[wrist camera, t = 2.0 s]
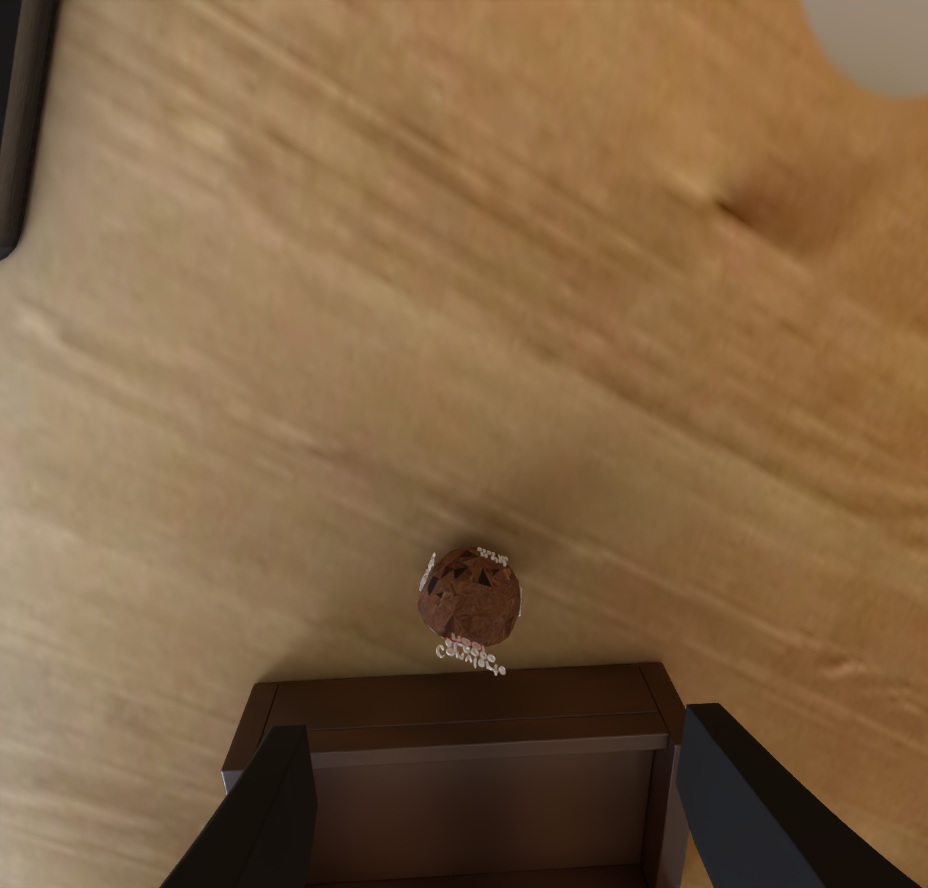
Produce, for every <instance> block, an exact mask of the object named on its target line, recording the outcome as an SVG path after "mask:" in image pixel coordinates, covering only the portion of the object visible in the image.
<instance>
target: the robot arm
mask: <svg viewBox="0 0 928 888" xmlns="http://www.w3.org/2000/svg"><path fill="white" fill-rule="evenodd" d="M676 787H677V790H678V793H679V796H680V799H681V803H682V806H683V809H684V812H685V816H686V819H687V822H688V825H689V828H690V831H691V834H692V837H693V840H694V843H695V845H696V847H697V850H698V852H699V855H700V857H701V859H702V861H703V864H704V866H705V868H706V871H707V873H708V875H709V878H710V880H711V882H712V884H713V887H714V888H922V887H920V886H919V885H918V884H916V883H915V882H914V881H913V880H911V879H910V878H909V877H907V876H906V875H905V874H904V873H903V872H901V871H900V870H899V869H898V868H896V867H895V866H894V865H893V864H891V863H890V862H889V861H888V860H887V859H885V858H884V857H883V856H882V855H881V854H879V853H878V852H877V851H876V850H875V849H874V848H872V847H871V846H870V845H869V844H868V843H867V842H865V841H864V840H863V839H862V838H861V837H860V836H858V835H857V834H856V833H855V832H854V831H853V830H851V829H850V828H849V827H848V826H847V825H846V824H845V823H844V822H842V821H841V820H840V819H839V818H838V817H837V816H836V815H835V814H834V813H832V812H831V811H830V810H829V809H828V808H827V807H826V806H825V805H824V804H823V803H822V802H820V801H819V800H818V799H817V798H816V797H815V796H814V795H813V794H812V793H811V792H810V791H809V790H808V789H807V788H805V787H804V786H803V785H802V784H801V783H800V782H799V781H798V780H797V779H796V778H795V777H794V776H793V775H792V774H791V773H790V772H789V771H787V770H786V769H785V768H784V767H783V766H782V765H781V764H780V763H779V762H778V761H777V760H776V759H775V758H774V757H773V756H772V755H771V754H770V753H769V752H768V751H767V750H766V749H765V748H764V747H763V746H762V745H761V744H760V743H759V742H758V741H757V740H756V739H755V738H754V737H753V736H752V735H751V734H750V733H749V732H748V731H747V730H746V729H745V728H744V727H743V726H742V725H741V724H740V723H739V722H738V721H737V720H736V719H735V718H734V717H733V716H731V715H730V714H729V713H728V712H727V711H726V710H725V709H724V708H723V707H722V706H721V705H720V704H719V703H706V704H687V707H686V714H685V721H684V728H683V735H682V742H681V749H680V756H679V762H678V769H677V776H676ZM317 806H318V801H317V795H316V788H315V782H314V775H313V768H312V762H311V755H310V749H309V742H308V736H307V729H306V725H287V726H273V727H272V728H271V729H270V730H268V732H267V733H266V735H265V736H264V738H263V740H262V741H261V743H260V745H259V746H258V748H257V749H256V751H255V753H254V754H253V756H252V757H251V759H250V761H249V762H248V764H247V765H246V767H245V768H244V770H243V772H242V773H241V775H240V776H239V778H238V779H237V781H236V782H235V784H234V785H233V787H232V788H231V790H230V791H229V793H228V794H227V796H226V797H225V799H224V800H223V802H222V803H221V804H220V806H219V807H218V809H217V810H216V812H215V813H214V814H213V816H212V817H211V819H210V820H209V822H208V823H207V824H206V826H205V827H204V829H203V830H202V831H201V833H200V834H199V836H198V837H197V839H196V840H195V841H194V843H193V844H192V845H191V847H190V848H189V849H188V851H187V852H186V853H185V855H184V856H183V857H182V859H181V860H180V861H179V862H178V864H177V865H176V866H175V868H174V869H173V870H172V872H171V873H170V874H169V876H168V877H167V878H166V879H165V881H164V882H163V883H162V885H161V886H160V887H159V888H304V887H305V883H306V879H307V874H308V870H309V865H310V858H311V851H312V844H313V837H314V830H315V822H316V814H317Z"/></svg>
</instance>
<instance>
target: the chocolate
mask: <svg viewBox="0 0 928 888" xmlns="http://www.w3.org/2000/svg"><path fill="white" fill-rule="evenodd" d="M434 557H435V553H433V555H432V558H431V559H430V562H429V564H428V568H429V569H428V570H427V569H426V570H425V572H426V573H424V575H423V577H422V581H421V582H420V585H419V591H420V592H421V589H422V587H423V586H424V587H423V590H422V593H421V595H420V598H419V601H418V610H419V613H420V615H421V617H422V619H423V620H424V622H425V623H426V624H427V626H428V627H429V628H430V629H431V630H432V631H433V632H434V633H436V634H437V635H438V636H440V637H441V638H443V639H445V641H446V642H445V643H446V646H447V647H451V646H452V642H453V643H454V650H453V649H451V648H447V650H446V651H445V652H446V654H447V655H449V656H453V655H454V654H456V658H457V659H458V658H459V659H460V660H463V659H464V653H462V657H461V656H460V654H459V651H457V645H459V646H461V647H463V646H464V647H463V651H464V652H465V653H467V654H468V653H469V652H471V654H472V655H473V656H476V657H475V658H474V662H473V661H472V659H471V656H470V655H467V656H466V659H465V661H466V662H467V661H468V659H469V660H470V663H472V662H473V664H474V668H476V667H477V665H476V663H477V656H478V655H479V652H478V651H481V653H480V657H481V658H482V659H479V661H478V665H479V666H480V667H484V666H485V664H484V663H485V661H484V660H485V659H486V657H487V659H488V660H489V661H490V662H493V663H494V662H495V660H496V658H495V657H494V656H493V655H492V654H488V656H487V655H486V653H485V647H488V646H491V645H495V644H498V643H500V642H502V641H503V640H504V639H506V638H507V637H508V636H509V635H510V633H511V631H512V629H513V627H514V625H515V622H516V619H517V616H518V615H519V617H521V609H522V608H521V605H522V604H521V600H522V597H521V596H522V588H520V587H519V581H518V579H517V578H516V576H515V574H514V572H513V570H512V569H511V567H509V566H508V565H507V564H506V561H508V558H507V557H505V556H504V557H503V556H502V555H501V557H500V555H498V556H497V555H495V553H494V552H492V553H491V551H488V550H487V551H486V550H485V549H482V548H480V547H478V548H474V547H470V548H462V549H457V550H454V551H451V552H450V553H449V554H448V555H447V556H445V557H444V558H443V559H442V560H441V561H440V562H439V563H438V564H437V565H436V566H435V567H434V569H433V571H432V572H431V574H430V576H429V578H428V574H429V571H430V570H431V568H432V566H434V560H435V559H434ZM502 559H503V560H502ZM505 559H506V561H505ZM426 578H428V579H427V581H426ZM424 583H425V585H424ZM469 647H472V650H471V651H467V650H466V648H467V649H468V650H469V649H470V648H469ZM440 648H441V649H442V651H444V650H445V649H444V647H443V646H442V645H438V646H437V648H436V653H437V655H438V657H439V658H444V656H445V654H443V655H441V654H440ZM449 651H451V652H452V653H450V652H449ZM474 651H475V652H476V653H477V654H476V653H474ZM483 655H484V656H486V657H484V656H483ZM491 657H492V658H493V659H491ZM483 659H484V660H483ZM497 667H498V665H497V664H495V665H494V669H493V668H492V667H490V665H489V662H488V661H486V669H488V668H489V670H491V671H492V670H493V671H494V674H495V675H496V676H497V674H498V672H500V673H501V674H502V675H505V673H506V672H505V670H506V669H505V668H504V667H502V666H500V668H499V670H497Z"/></svg>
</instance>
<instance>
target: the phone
mask: <svg viewBox="0 0 928 888" xmlns="http://www.w3.org/2000/svg"><path fill="white" fill-rule="evenodd" d="M57 4H58V0H0V260H2V259H4V258H6V257H7V256H8V255H9V254H10V253H11V252H12V251H13V250H14V249H15V248H16V246H17V243H18V241H19V238H20V235H21V232H22V225H23V219H24V213H25V206H26V200H27V194H28V187H29V181H30V175H31V168H32V162H33V156H34V150H35V143H36V137H37V131H38V124H39V118H40V112H41V105H42V99H43V93H44V86H45V80H46V74H47V67H48V61H49V55H50V48H51V42H52V36H53V30H54V23H55V17H56V11H57Z"/></svg>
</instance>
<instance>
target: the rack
mask: <svg viewBox="0 0 928 888" xmlns="http://www.w3.org/2000/svg"><path fill="white" fill-rule="evenodd" d="M505 672H506V673H505V675H502V674H501V673H500V672H498V674H497V676H496V675H495V674H494V671H493V672H473V673H453V674H434V675H414V676H395V677H375V678H355V679H336V680H316V681H297V682H281V683H280V684H279V683H259V684H254V686H253V688H252V691H251V694H250V696H249V699H248V702H247V704H246V707H245V709H244V712H243V715H242V717H241V720H240V723H239V725H238V728H237V731H236V733H235V736H234V738H233V741H232V744H231V746H230V749H229V752H228V754H227V757H226V759H225V762H224V765H223V767H222V770H221V773H222V777H223V782H224V786H225V790H226V795H227V794H228V793H229V791H230V790H231V788H232V787H233V785H234V784H235V782H236V781H237V779H238V778H239V776H240V775H241V773H242V772H243V770H244V768H245V767H246V765H247V764H248V762H249V761H250V759H251V757H252V756H253V754H254V753H255V751H256V749H257V748H258V746H259V745H260V743H261V741H262V740H263V738H264V736H265V735H266V733H267V732H268V730H270V729H271V728H272V727H273V726H287V725H306V729H307V736H308V742H309V749H310V755H311V762H312V768H313V775H314V782H315V788H316V795H317V801H318V806H317V814H316V822H315V830H314V837H313V844H312V851H311V858H310V865H309V870H308V874H307V879H306V883H305V887H304V888H680V886H681V879H682V873H683V867H684V861H685V855H686V848H687V842H688V836H689V830H690V828H689V825H688V822H687V819H686V816H685V812H684V809H683V806H682V803H681V799H680V796H679V793H678V790H677V787H676V776H677V769H678V762H679V756H680V749H681V742H682V735H683V728H684V721H685V714H686V709H685V707H684V705H683V703H682V701H681V699H680V697H679V695H678V693H677V691H676V689H675V687H674V685H673V683H672V681H671V679H670V677H669V675H668V673H667V671H666V670H665V668H664V666H663V664H662V663H648V664H639V665H637V664H630V665H610V666H590V667H571V668H551V669H532V670H512V671H505Z"/></svg>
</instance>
